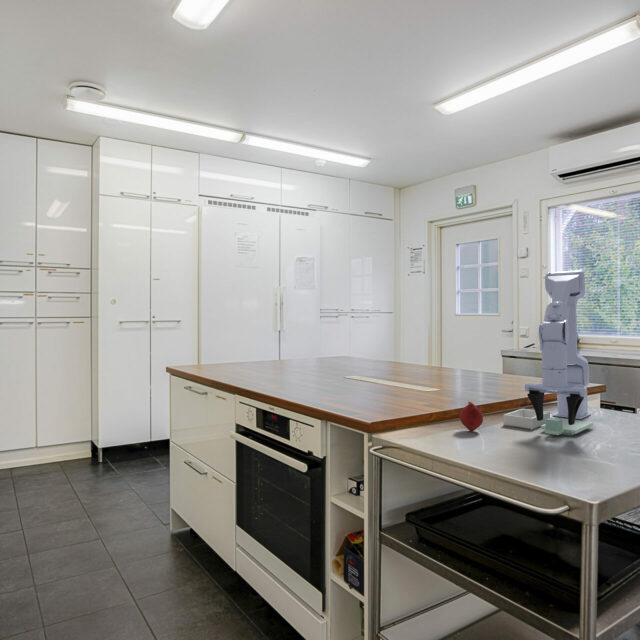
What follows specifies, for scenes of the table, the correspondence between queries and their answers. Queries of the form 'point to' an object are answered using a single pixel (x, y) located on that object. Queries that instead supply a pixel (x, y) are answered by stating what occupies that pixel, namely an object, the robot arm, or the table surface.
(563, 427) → the lid
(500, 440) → the table surface
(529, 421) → the tub
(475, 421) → the onion
